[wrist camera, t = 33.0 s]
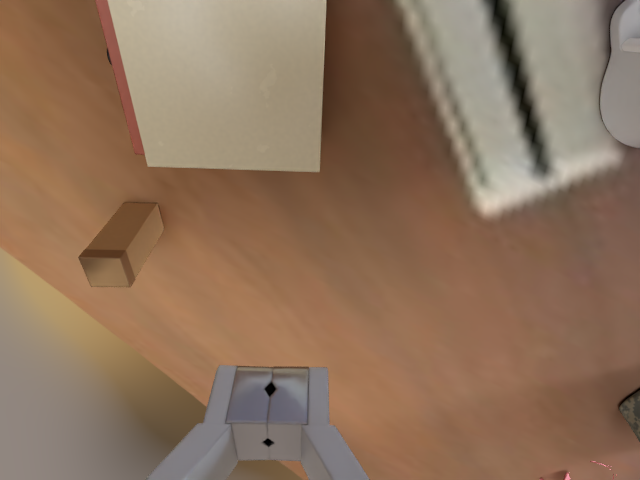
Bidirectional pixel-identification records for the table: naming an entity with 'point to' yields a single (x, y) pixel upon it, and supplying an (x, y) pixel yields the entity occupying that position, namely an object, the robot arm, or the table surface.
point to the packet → (122, 245)
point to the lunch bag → (632, 412)
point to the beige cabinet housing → (225, 81)
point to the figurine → (567, 478)
